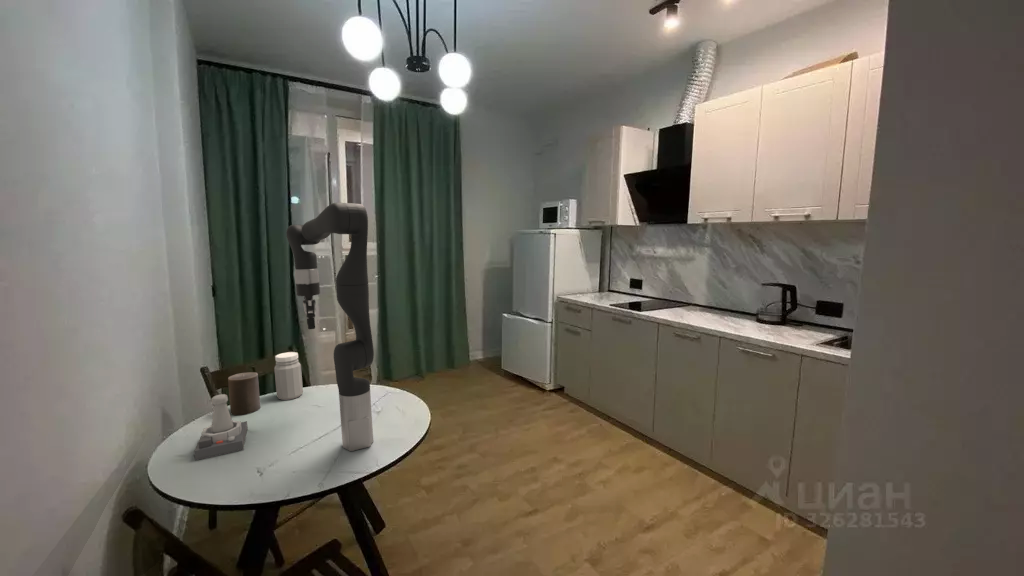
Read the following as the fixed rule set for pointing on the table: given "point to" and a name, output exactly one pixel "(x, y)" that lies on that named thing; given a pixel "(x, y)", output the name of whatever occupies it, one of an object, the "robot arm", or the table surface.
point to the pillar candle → (244, 393)
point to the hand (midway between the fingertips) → (311, 326)
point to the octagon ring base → (221, 441)
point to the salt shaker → (221, 414)
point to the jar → (288, 376)
